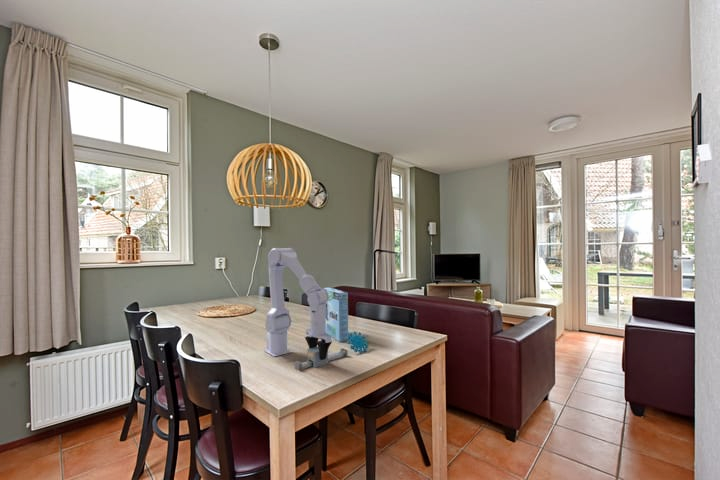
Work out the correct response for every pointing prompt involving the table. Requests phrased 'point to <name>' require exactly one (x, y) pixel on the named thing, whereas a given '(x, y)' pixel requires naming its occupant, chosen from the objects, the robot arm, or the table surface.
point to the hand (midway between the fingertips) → (318, 356)
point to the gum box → (337, 314)
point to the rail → (340, 354)
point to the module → (316, 357)
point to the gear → (358, 342)
